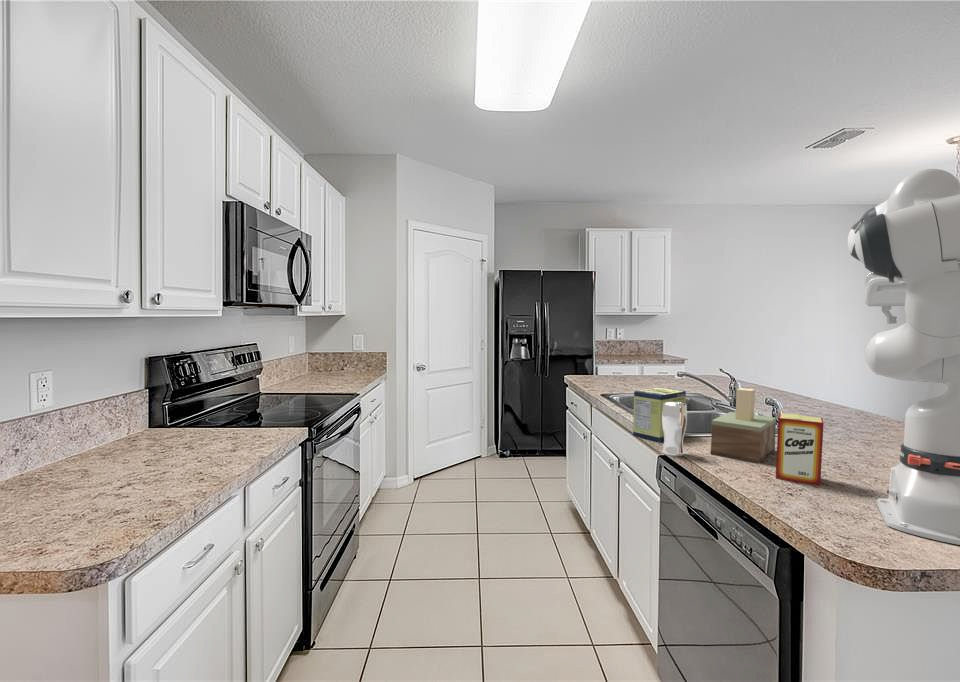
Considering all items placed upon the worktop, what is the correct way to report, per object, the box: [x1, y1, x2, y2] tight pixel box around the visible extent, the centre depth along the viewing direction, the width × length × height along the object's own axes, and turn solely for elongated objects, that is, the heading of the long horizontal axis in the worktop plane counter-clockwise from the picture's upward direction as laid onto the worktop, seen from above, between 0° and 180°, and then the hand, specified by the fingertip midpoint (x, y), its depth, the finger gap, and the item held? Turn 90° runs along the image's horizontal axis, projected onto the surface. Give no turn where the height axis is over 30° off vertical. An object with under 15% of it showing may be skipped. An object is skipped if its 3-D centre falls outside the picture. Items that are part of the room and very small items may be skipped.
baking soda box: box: [775, 413, 825, 486], centre depth 128 cm, size 10×6×16 cm
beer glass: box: [662, 402, 688, 457], centre depth 150 cm, size 7×7×15 cm
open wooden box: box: [710, 421, 777, 464], centre depth 152 cm, size 18×13×9 cm
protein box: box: [632, 386, 687, 443], centre depth 171 cm, size 10×16×16 cm
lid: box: [711, 387, 777, 432], centre depth 151 cm, size 18×13×11 cm
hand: (914, 323), depth 126 cm, fingers open, 8 cm apart
